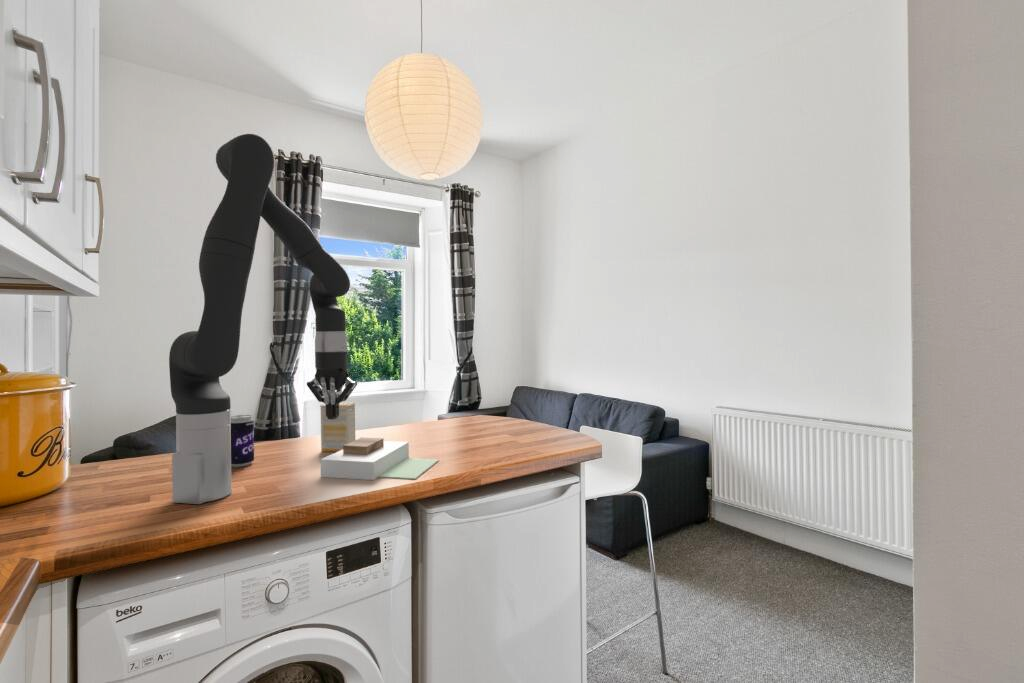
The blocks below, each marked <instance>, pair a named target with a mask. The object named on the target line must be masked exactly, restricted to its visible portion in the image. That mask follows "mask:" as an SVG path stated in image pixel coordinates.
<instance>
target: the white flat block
mask: <svg viewBox="0 0 1024 683" xmlns="http://www.w3.org/2000/svg"><path fill="white" fill-rule="evenodd" d="M409 443H410V442H408V441H391V440H390V441H389V440H384V446H383V447H381V448H379V449H377V450H375V451H374V452H372V453H370V454H368V455H354V454H343V449H342V450H340V451H335V453H334V452H333V453H331V454H329V455H327V456H325V457H322V458H321V459H320V478H331V479H332V478H334V479H349V480H354V479H355V480H367V481H369V480H370V481H374V480H376V479H377V478H379V477H378V476H379V475H380V474H382V473H383V472H385V471H386V470H388V469H390V468H391V467H393V466H394V465H396V464H397V463H399V462H400V461H402V460H403V459H405V458H410V450H409V447H410V445H409Z"/></svg>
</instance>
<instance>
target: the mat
mask: <svg viewBox="0 0 1024 683" xmlns="http://www.w3.org/2000/svg"><path fill="white" fill-rule="evenodd" d="M439 461H440V460H439V459H436V458H435V459H433V458H432V459H431V458H414V457H413V458H412V457H408V458H405V459H403V460H402V461H400V462H399V463H397V464H396V465H394V466H393V467H391V468H390V469H388V470H386V471H385V472H383V473H382V474H380V475H379V476H378V478H382V479H401V480H417V479H418V478H420V477H421V476H422V475H423V474H424V473H426V472H427V471H428V470H429V469H431V468H432V467H433V466H434V465H435V464H437V463H438V462H439Z"/></svg>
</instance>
